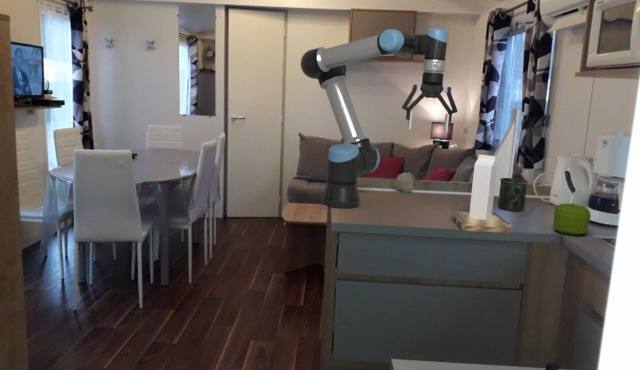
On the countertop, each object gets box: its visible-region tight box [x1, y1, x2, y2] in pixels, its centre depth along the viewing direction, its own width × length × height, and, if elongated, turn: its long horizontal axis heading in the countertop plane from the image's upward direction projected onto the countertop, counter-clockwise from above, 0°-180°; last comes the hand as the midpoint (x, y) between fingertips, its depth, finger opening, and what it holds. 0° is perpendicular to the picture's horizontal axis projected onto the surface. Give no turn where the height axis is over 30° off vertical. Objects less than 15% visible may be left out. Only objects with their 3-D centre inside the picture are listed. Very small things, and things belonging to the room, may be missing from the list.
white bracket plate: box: [493, 108, 521, 198], centre depth 244 cm, size 20×14×40 cm
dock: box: [450, 210, 512, 234], centre depth 185 cm, size 16×16×3 cm
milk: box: [469, 153, 497, 221], centre depth 183 cm, size 6×6×22 cm
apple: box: [553, 202, 591, 236], centre depth 181 cm, size 11×11×11 cm
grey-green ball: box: [393, 172, 416, 193], centre depth 242 cm, size 9×8×10 cm
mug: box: [497, 177, 529, 212], centre depth 214 cm, size 11×15×12 cm
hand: (427, 130), depth 198 cm, fingers open, 13 cm apart
